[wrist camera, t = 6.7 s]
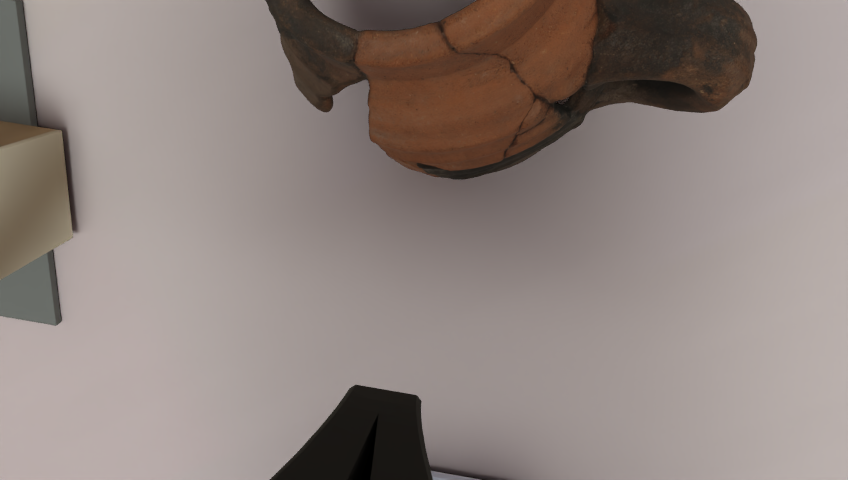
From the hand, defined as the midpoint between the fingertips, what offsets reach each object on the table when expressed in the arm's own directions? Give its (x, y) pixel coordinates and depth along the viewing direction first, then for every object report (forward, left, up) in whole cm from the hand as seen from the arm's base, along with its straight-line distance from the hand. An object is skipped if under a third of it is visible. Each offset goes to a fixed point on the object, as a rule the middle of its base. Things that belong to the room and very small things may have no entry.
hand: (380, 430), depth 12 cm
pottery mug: (+8, -1, -10) cm, 13 cm away
